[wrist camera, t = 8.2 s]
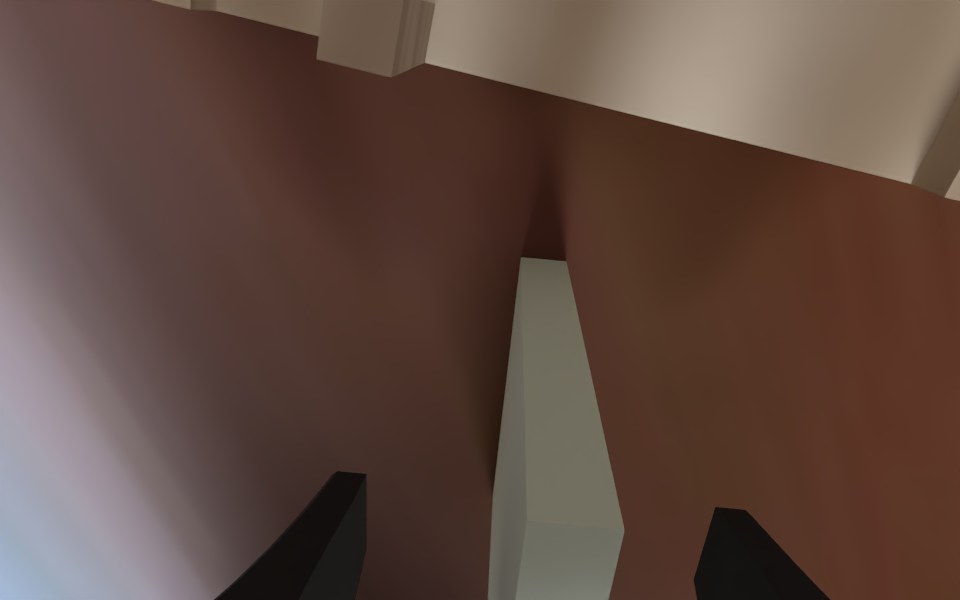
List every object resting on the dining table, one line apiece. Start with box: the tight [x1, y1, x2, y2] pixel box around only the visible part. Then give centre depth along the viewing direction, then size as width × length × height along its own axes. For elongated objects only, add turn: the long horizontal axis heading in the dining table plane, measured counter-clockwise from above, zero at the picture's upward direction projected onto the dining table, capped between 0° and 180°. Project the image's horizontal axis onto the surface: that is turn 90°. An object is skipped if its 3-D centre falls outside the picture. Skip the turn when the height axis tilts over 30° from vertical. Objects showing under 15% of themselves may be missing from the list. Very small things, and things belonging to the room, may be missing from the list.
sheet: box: [488, 257, 625, 600], centre depth 14 cm, size 1×8×10 cm, turn 176°
